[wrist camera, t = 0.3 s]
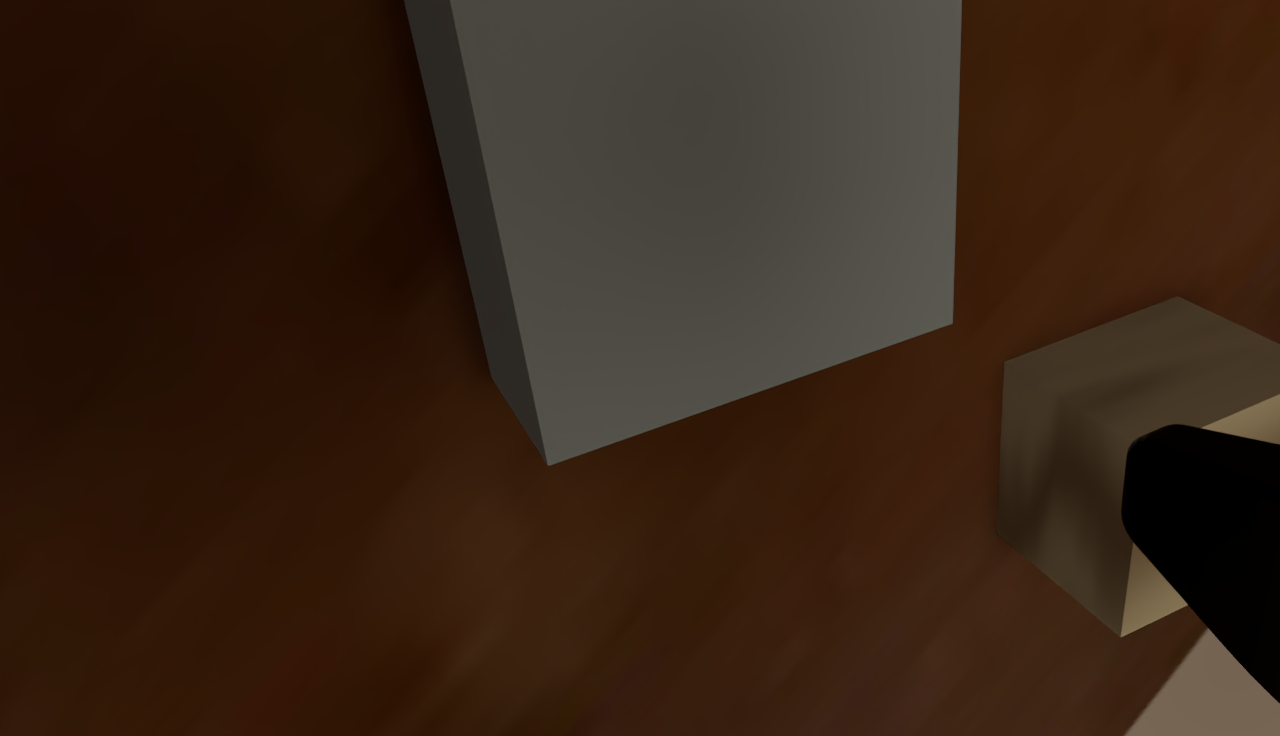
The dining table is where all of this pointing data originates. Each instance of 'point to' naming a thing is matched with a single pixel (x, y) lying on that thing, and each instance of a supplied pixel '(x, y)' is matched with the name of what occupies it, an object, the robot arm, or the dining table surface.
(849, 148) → the base block
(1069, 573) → the birch block
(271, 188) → the dining table surface
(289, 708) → the dining table surface
